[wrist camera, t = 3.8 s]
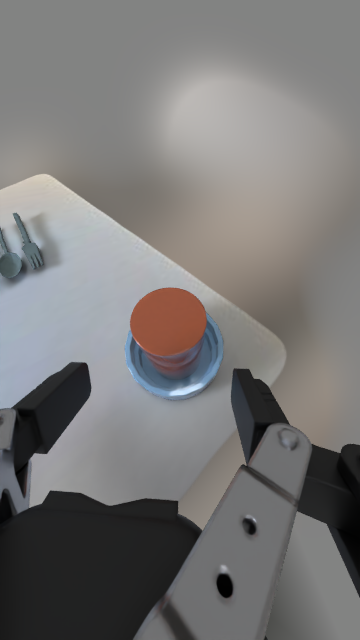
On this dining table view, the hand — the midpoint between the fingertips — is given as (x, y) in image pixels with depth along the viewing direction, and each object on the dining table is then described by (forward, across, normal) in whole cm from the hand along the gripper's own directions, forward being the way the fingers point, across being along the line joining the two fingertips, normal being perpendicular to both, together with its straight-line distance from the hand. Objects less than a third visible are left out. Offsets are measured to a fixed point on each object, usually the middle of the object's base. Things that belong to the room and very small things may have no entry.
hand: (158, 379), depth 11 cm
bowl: (+11, 0, +4) cm, 12 cm away
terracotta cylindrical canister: (+10, 0, +4) cm, 11 cm away
